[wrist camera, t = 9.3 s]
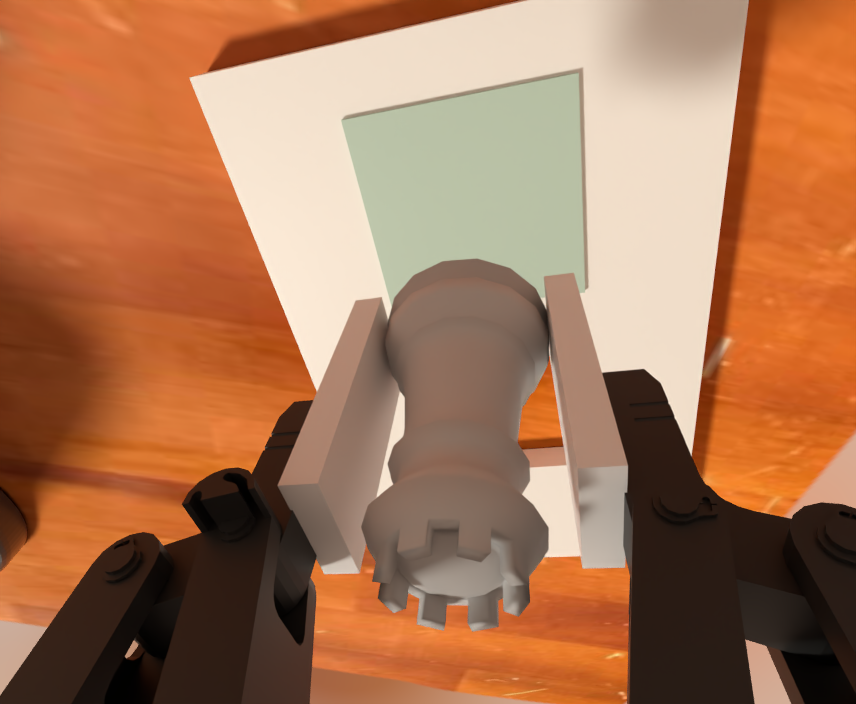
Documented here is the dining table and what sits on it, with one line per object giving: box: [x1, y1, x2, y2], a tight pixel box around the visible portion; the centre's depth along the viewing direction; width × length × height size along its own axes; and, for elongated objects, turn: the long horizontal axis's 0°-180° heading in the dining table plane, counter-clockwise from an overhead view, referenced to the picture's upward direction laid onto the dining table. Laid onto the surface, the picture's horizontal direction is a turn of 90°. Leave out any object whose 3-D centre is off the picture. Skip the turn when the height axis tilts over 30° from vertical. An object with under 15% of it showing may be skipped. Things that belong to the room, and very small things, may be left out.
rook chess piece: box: [361, 258, 549, 632], centre depth 12 cm, size 4×4×8 cm
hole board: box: [190, 0, 749, 557], centre depth 28 cm, size 20×32×2 cm, turn 11°
